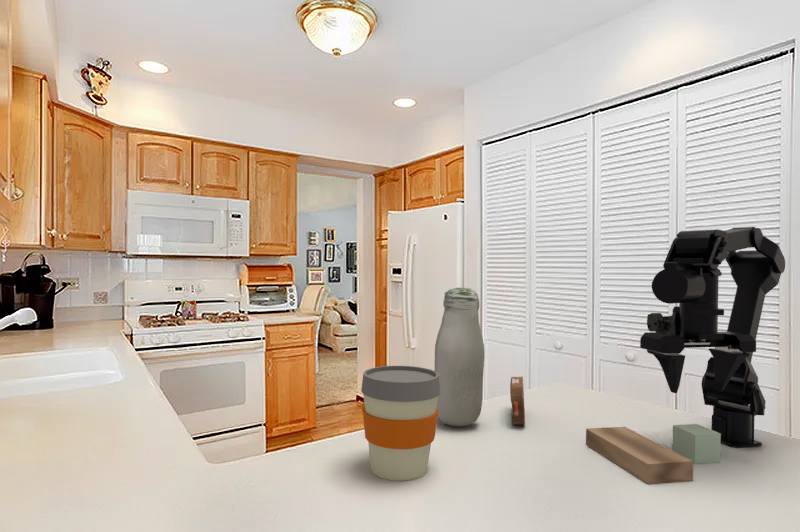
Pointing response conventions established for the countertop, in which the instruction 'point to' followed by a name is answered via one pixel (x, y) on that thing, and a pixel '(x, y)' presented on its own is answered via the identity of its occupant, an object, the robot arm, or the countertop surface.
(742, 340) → the robot arm
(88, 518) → the countertop surface
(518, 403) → the tin
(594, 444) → the walnut base
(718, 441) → the sage block
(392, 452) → the reusable coffee cup
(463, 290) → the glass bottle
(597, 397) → the countertop surface
